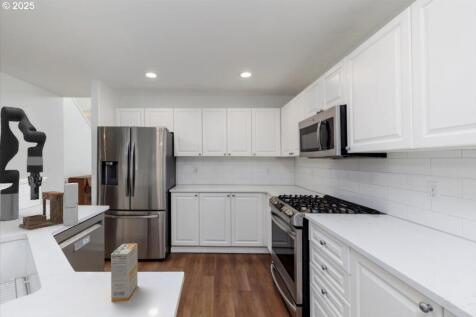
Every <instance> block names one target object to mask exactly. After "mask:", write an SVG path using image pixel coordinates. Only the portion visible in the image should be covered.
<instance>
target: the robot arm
mask: <svg viewBox="0 0 476 317" xmlns="http://www.w3.org/2000/svg"><path fill="white" fill-rule="evenodd" d="M10 122H14V123H18V124H17V128H18V129H19V131H20V132H21V133H22V136H23V138H22V139H23V140H24V142H26V143H31V144H36V145H35V146H29V147H27V151H26V173H28V174H29V176H27V183H28V186H29V187H30V180H31V179H32V182H33V184H34V194H38V193H39V194H40V187H42V182H43V176H41V174H40V173H44V159H43V156H44V155H43V151H44V147H45V144H46V141H47V134H46V133H45V132H44V131H39V130H37V128H36V127H35V126H34V125H33V124H32V123H31V121H30V120H29V117H28V115H27V114H26V112H25V111H24V110H23V109H22V108H20V107H13V106H6V105H4V106H2V107H1V109H0V185H2V184H5V185H6V184H11V185H10V186H8V187H6V188H3V189H2V188H1V189H0V221H1V220H5V221H13V220H17V218H18V219H19V218H20V215H19V214H20V208H19V207H20V199H19V198H20V176H21V175H20V171H19V170H18V169H6V168H7V165H8V163H10V161H12V160H13V159H14V157H16V155H17V154H18V152H19V148H20V141H19V138H17V136H16V135H15V134H14V132H13V131H12V129H11V127H10ZM35 181H36V182H35Z"/></svg>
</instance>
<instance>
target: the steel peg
mask: <svg viewBox="0 0 476 317" xmlns="http://www.w3.org/2000/svg"><path fill="white" fill-rule="evenodd" d="M35 182H36V181H35ZM29 188H30V192H29V194H30V195H29V196H30V197H29V199H30V201H36V200H40V192H39V193H38V194H34V184H33V182H32V179H31V180H30V186H29Z"/></svg>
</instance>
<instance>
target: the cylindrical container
mask: <svg viewBox="0 0 476 317" xmlns="http://www.w3.org/2000/svg"><path fill="white" fill-rule="evenodd" d="M63 192H64V214H63V226H64V227H73V226H77V225H79V182H71V183H70V182H69V183H63Z"/></svg>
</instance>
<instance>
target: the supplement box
mask: <svg viewBox="0 0 476 317" xmlns="http://www.w3.org/2000/svg"><path fill="white" fill-rule="evenodd" d="M138 280H139V279H138V243H122V244H121V245H120V246H118V247H117V248H116V249H115V250H114V251H113V252H112V253H111V254H110V295H111V296H110V298H111V302H121V301H124V302H125V301H129V300H130V298H131V296H132V295H133V293H134V292H135V290H136V288H137V287H138V282H139V281H138Z"/></svg>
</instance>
